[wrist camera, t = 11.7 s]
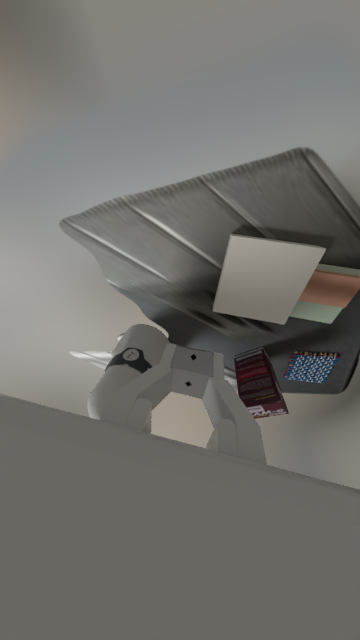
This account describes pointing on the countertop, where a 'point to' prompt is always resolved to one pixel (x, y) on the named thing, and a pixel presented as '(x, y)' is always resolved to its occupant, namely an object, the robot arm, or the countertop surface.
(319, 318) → the mat
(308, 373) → the woven mat
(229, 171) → the countertop surface
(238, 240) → the pale grey square slab
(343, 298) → the terracotta flat block
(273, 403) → the supplement box
